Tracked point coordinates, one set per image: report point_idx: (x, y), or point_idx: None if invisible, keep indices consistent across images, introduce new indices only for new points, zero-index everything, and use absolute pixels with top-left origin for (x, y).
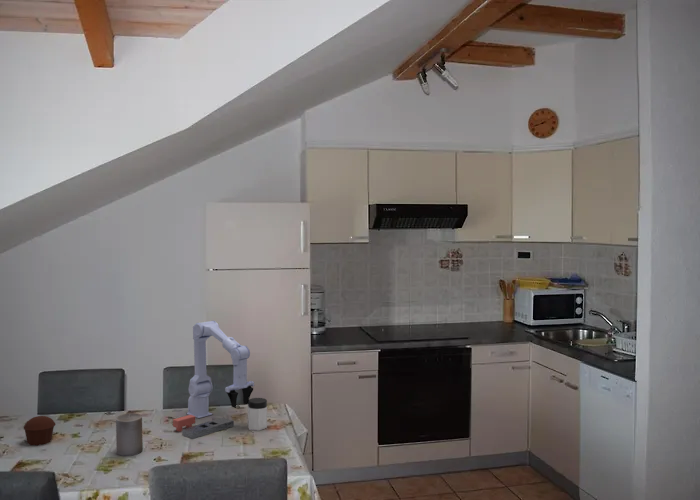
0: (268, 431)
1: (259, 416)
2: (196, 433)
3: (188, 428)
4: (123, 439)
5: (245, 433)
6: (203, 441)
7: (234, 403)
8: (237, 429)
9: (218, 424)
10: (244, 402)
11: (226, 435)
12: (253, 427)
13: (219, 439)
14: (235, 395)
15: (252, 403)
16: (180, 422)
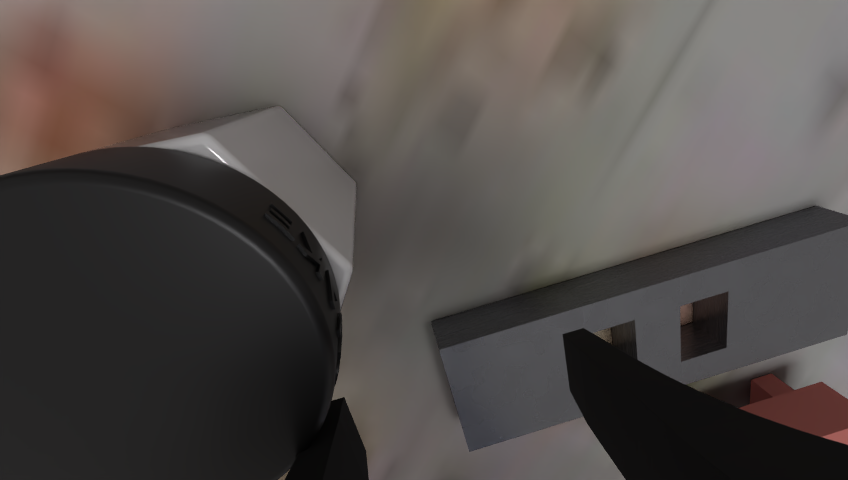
0: (188, 21)
1: (233, 120)
2: (815, 226)
3: (809, 330)
4: None
5: (430, 102)
6: (802, 110)
7: (640, 364)
8: (441, 239)
9: (596, 315)
10: (359, 455)
11: (591, 146)
12: (321, 153)
13: (691, 81)
14: (833, 472)
15: (299, 267)
16: (837, 414)
